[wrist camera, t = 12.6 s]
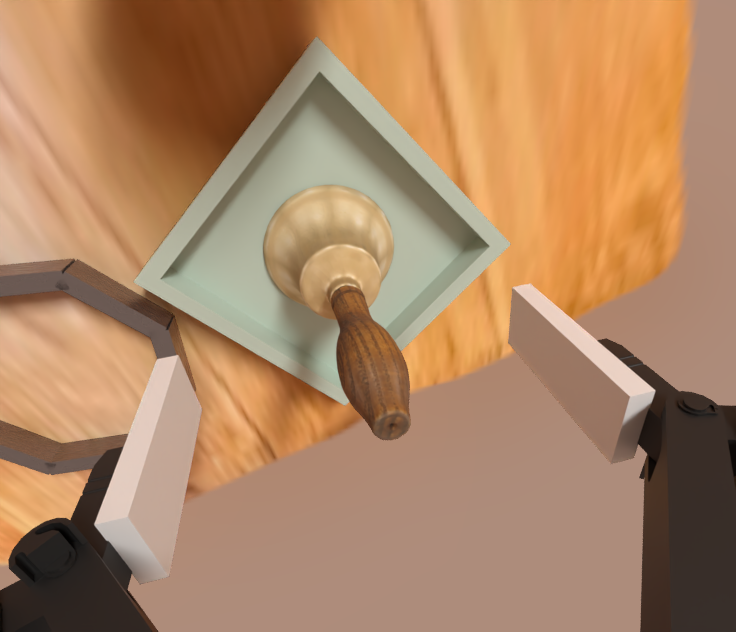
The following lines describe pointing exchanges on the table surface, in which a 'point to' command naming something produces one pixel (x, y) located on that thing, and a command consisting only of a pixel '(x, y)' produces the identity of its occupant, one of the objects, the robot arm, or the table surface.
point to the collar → (109, 300)
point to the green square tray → (302, 171)
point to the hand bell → (344, 292)
